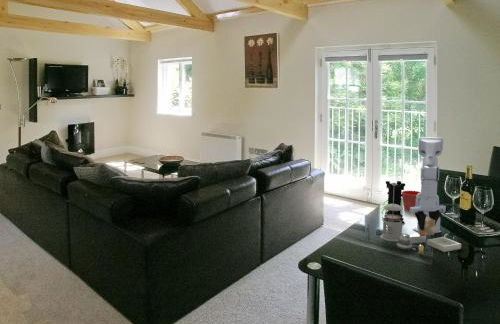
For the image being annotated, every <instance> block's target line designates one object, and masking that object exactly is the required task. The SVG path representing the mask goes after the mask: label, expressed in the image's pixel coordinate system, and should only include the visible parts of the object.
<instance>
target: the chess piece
mask: <svg viewBox="0 0 500 324" xmlns="http://www.w3.org/2000/svg"><path fill="white" fill-rule="evenodd" d="M392 183H393V182H391V181H390V180H385V184H386V189H388V192H387V193H386V194H387V197H388V198H387V204H393V192H394V204H397V205H399V206H401V207H402V196H403V195H402V192H403V191H405V187H406V183H405V182H403V183H402V181H401V180H396V185H395V186H394V185H392ZM387 211H388V212H386V211H385V212H386V214H393V215H399V216H401V220H402V225H404V224H405V221H404V219H405V218H404V217H403V216H404V215H403V214H402V213H401V212H402V210H401V211H390V210H387ZM384 218H385V217H383V219H384ZM386 221H387V222H388V219H387V220H386ZM394 222H400V221H394Z"/></svg>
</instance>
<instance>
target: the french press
mask: <svg viewBox="0 0 500 324" xmlns="http://www.w3.org/2000/svg"><path fill="white" fill-rule="evenodd" d="M391 183H392V185H394V186H395V185H396V184H397V182H391ZM382 208H383V210H382V211H381V214H383V213H384V215H383V216H381V219H382V220H381V221H382V234H380V236H379V237H380V239H382V240H384V241H388V242H398V241H399V238H400V234H402V226H403V224H402V220H401V216H399V215H393V214H386V212H388V210H390V211H401V212H402V210H403V209H404V207H402V205H401V206H399V205H397V204H394V192H393V204H388V203H387V204H385V205H384V206H383V207H382ZM384 210H385V212H384ZM383 218H384V219H383ZM387 219H388V222H387V221H386V220H387ZM394 221H400V222H394Z"/></svg>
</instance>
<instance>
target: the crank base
mask: <svg viewBox="0 0 500 324" xmlns="http://www.w3.org/2000/svg"><path fill="white" fill-rule="evenodd" d="M396 247H397V248H398V249H401V250H414V251H416V250H417V248H414V247H413V243H410V244H401V243H399V241H396ZM417 251H418V252H417V254H418V255H420V256H422V255H424V245H423V244H418V250H417Z"/></svg>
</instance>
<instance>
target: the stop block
mask: <svg viewBox="0 0 500 324" xmlns="http://www.w3.org/2000/svg"><path fill="white" fill-rule="evenodd" d="M434 230H435V220H434V219H432V218H430V217H426V219H425V225H424V230H421V229H419V232H418V233H422V234H424V235H426V236H434V235H435V233H434Z"/></svg>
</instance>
